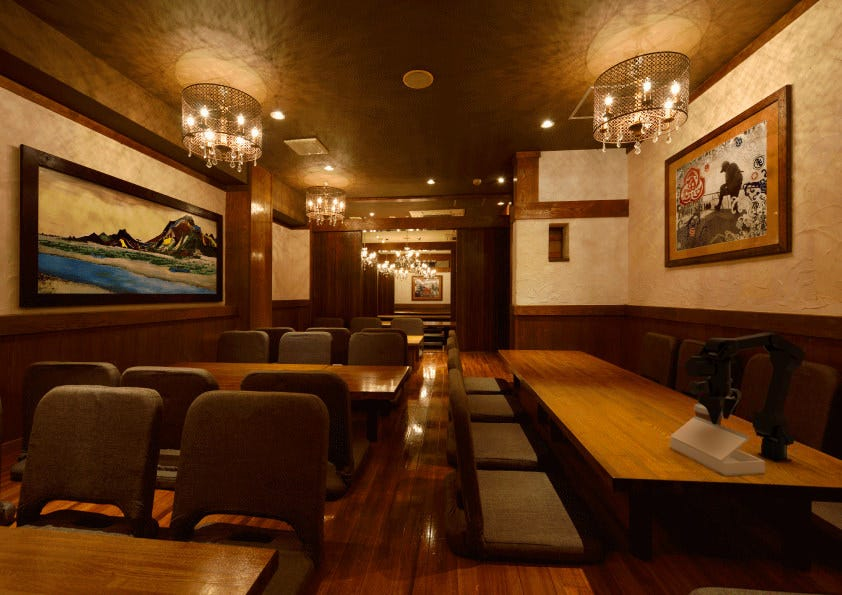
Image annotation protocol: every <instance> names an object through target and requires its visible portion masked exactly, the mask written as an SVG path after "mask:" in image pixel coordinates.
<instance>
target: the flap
mask: <svg viewBox="0 0 842 595" xmlns="http://www.w3.org/2000/svg"><path fill="white" fill-rule="evenodd" d="M670 437H672V438H674V439H676V440H678V441H680V442H682V443H685V444H687V445H689V446H691V447H693V448H695V449H697V450H699V451H701V452H703V453H705V454H707V455H709V456H711V457H713V458H716V459H718V460H720V461H723V460H725V459H726V458H727V457H728V456H729V455H731V454H732V453H733V452H734V451H735V450H737V449H738V450H739V448H740V447H741V446H743V445H744V444H745V443H746V442H748V441H750V439H751V437H750V436H749V435H747V434H743V433H741V432H738V431H735V430H733V429H731V428H727V427H725V426H722V425H718V424H716V425H715V424H712V422H710V421H707V420H704V419H702V418H699V417H697V416H696V415H694V416H693V417H692V418H691V419H689V420H688V421H687V422H686V423H684V425H682V426H681V427H679V429H677V430H675V431H674V433H672V434H671V435H670Z"/></svg>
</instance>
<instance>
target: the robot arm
mask: <svg viewBox="0 0 842 595" xmlns="http://www.w3.org/2000/svg"><path fill="white" fill-rule="evenodd" d="M759 347H760V348H761V347H763V349H764V350H765V352H767V353H769V357H768V359H769V362H770V364H771V366H772V371H771V375H770V380H769V384H768V387H767V391H766V392H767V393H766V395H765V396H766V397H765V400H764V404H763V408H761V409H760V410H759V411H758V410H754V412H753V415H752V416H753V418H752V419H751V423H752V428H754V432H755V434H756V436H757V437H760V438H761V443H760V452H756V454H757V455H758V456H760V457H762V458H766V459H768V460H770V461H772V462H776V463H782V462H793V459H792V458H790V457H788V446H790V445H794V443H795V439H796V438H795V437H794V436H793V435H792V433H790V431H788V430H787V429H788V422H787V418H786V417H785V414H784V410H785V407H786V402H787V397H788V393H789V389H790V385H791V382H792V377H793V373H794V372H795V371H796V370H797V369H799V368H800V367H801V366H802V363H803V362H804V359H805V351H804V350H803V348H801V346H799V345H796V344H795V343H794V342H791V341H789V340H788V339H785V338H784V337H782V336H780V335H779V334H778V333H775V332H765V331H762V332H760V333H756V334H750V335H743V336H737V337H734V338H733V337H732V338H730V337H729V338H728V337H709V338H708V339H707V340H706V342H705V344H704V345H703V347H702V348H701V349H700V351H699V352H698V354H697V356H693V355H691V356H689V359H688V360H687V361H686V363H685V365H684V369H685V372H686V374H687V375H688V376H690V377H691V378H699V377H702V378H703V377H707V378H706V379H705V380H704V381H700V382H699V381H697V380H694V381H690V382H689V385H688V390H690V391H691V393H692V394H697V393H702V392H704V393H702V394H700V395H698V396H697V404H701V405H703V406H704V407H705V408H706V409H707V411H708V413H709V416H710V419H711V421H712V424H715V425H716V424H717V422H718V420H719V418H720V416H721V413H723V415H722V417H723V419H724V420H729V418H730V416H731V414H732V412H733V411H734V410H735V407H736V406H737V404H738V402H739V401H740V399H742V392H741V391H740V390H739V389H738V388H731V383H734V379H732V378H731V363H732V364H733V363H737V360H736V359H735V358H733V357H732V356H734V355H737V354H738V353H739V352H741V351H744V350H750V349H756V348H759Z"/></svg>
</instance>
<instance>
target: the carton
mask: <svg viewBox="0 0 842 595" xmlns="http://www.w3.org/2000/svg"><path fill="white" fill-rule="evenodd" d="M669 439H670V445H669V446H670V447H669V448H670V449H672V450H674V451H675V452H677V453H679V454H681V455H683V456H685V457H687V458H689V459H691V460H692V461H695V462H696V463H699V464H700V465H702V466H704V467H706V468H708V469H709V470H712V471H714V472H715V471H716V472H715V473H717V472H718V473H717V474H719V473H720V474H719V475H721V474H722V475H721V476H723V475H724V477H735V476H752V475H755V476H756V475H764V474H766V461H765V460H763V459H761V458H759V457H756V456H754V455H751V454H749V453H747V452H744V451H742V450H740V449H739V448H738V449H737V450H735V451H734V452H733V453H732V454H731V455H729V456H728V457H727V458H726V459H725V460H723V461H720V460H718V459H716V458H713V457H711V456H709V455H707V454H705V453H703V452H701V451H699V450H697V449H695V448H693V447H691V446H689V445H687V444H685V443H682V442H680V441H678V440H676V439H674V438H672V437H671V436H670V438H669Z"/></svg>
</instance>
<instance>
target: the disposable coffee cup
mask: <svg viewBox="0 0 842 595" xmlns="http://www.w3.org/2000/svg"><path fill="white" fill-rule="evenodd" d="M693 410H694V413H695V415H694V416H697V417H699V418H702V419H704V420H707V421H710V422H712V421H711V419H710V416H709V413H708V411H707V409H706V408H705V407H704V406H703V405H701V404H700V403H696V404H694V407H693ZM722 417H723V413H721V416H720V418H719V420H718V422H717V424H718V425H720V426H722V425H721V424H722Z"/></svg>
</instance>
